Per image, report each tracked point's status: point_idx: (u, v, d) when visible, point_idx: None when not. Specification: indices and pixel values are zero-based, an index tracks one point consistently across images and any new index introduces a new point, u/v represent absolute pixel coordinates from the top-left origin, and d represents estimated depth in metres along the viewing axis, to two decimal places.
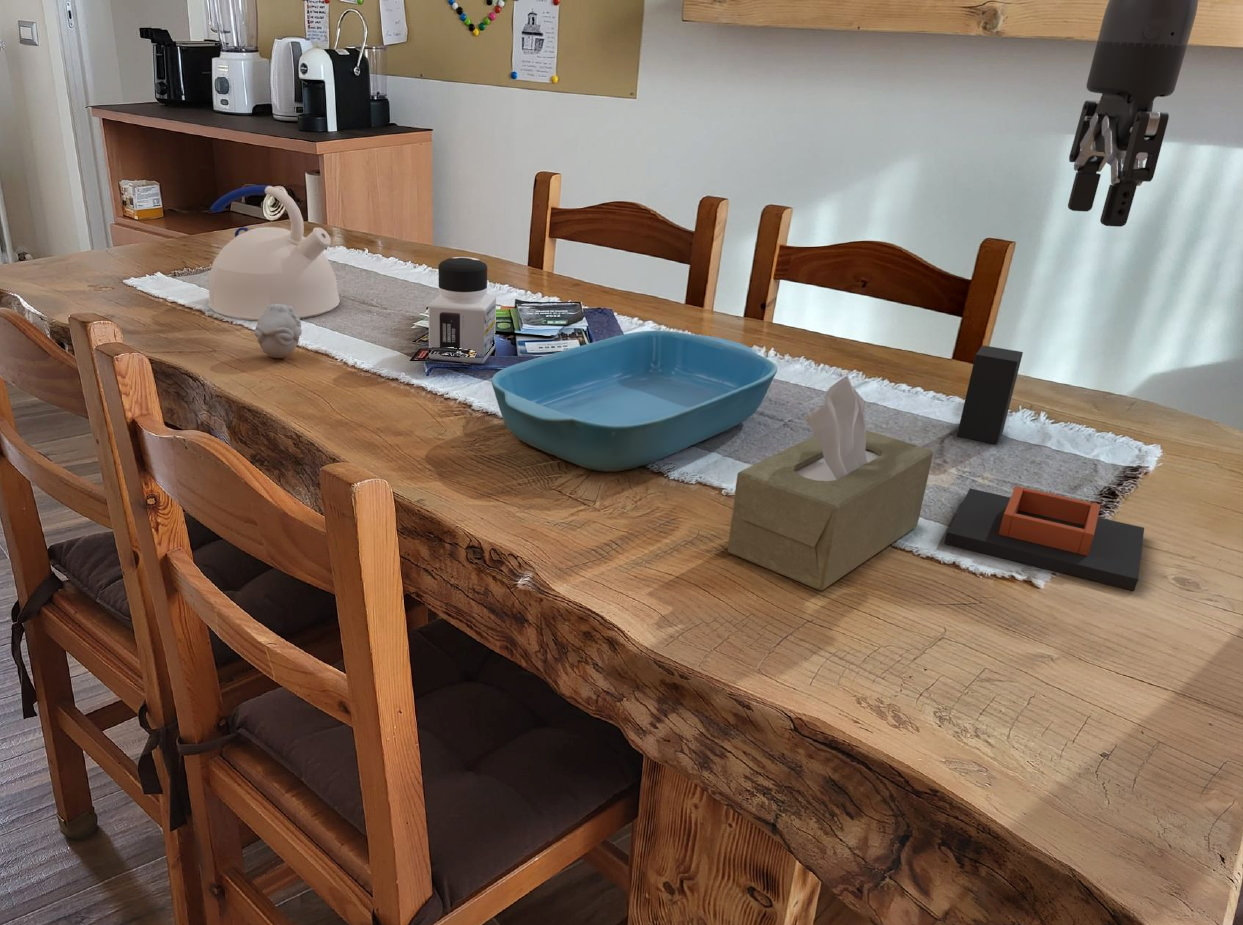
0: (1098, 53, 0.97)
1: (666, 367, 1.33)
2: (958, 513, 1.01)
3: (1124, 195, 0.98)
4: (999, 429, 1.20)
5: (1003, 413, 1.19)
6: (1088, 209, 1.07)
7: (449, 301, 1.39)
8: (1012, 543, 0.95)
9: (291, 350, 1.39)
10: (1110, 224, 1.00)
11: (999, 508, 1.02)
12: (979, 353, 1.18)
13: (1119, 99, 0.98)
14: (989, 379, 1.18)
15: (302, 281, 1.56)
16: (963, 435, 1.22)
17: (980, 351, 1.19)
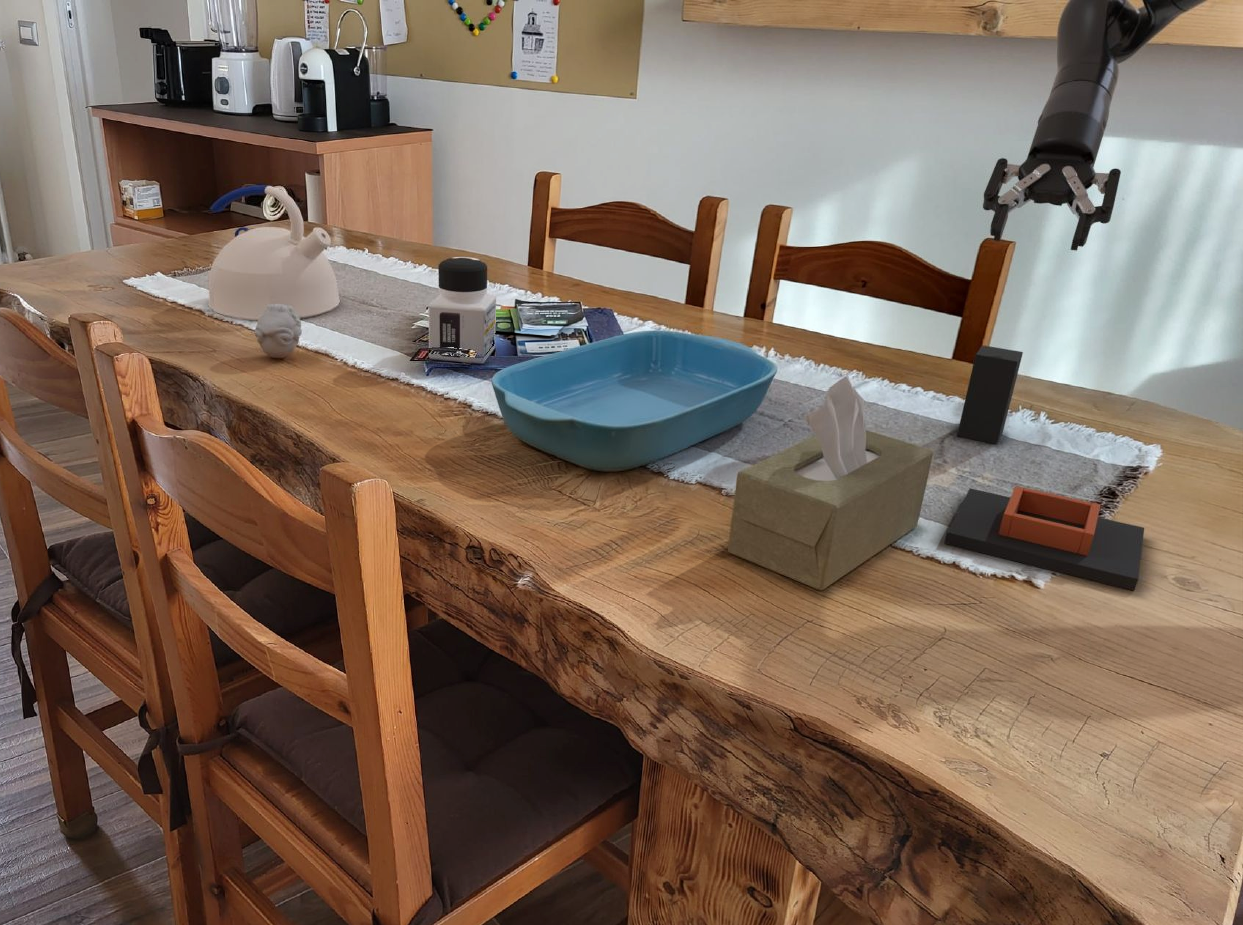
0: (1073, 118, 1.23)
1: (666, 367, 1.33)
2: (958, 513, 1.01)
3: None
4: (999, 429, 1.20)
5: (1003, 413, 1.19)
6: None
7: (449, 301, 1.39)
8: (1012, 543, 0.95)
9: (291, 350, 1.39)
10: (1078, 244, 1.21)
11: (999, 508, 1.02)
12: (979, 353, 1.18)
13: (1070, 160, 1.24)
14: (989, 379, 1.18)
15: (302, 281, 1.56)
16: (963, 435, 1.22)
17: (980, 351, 1.19)
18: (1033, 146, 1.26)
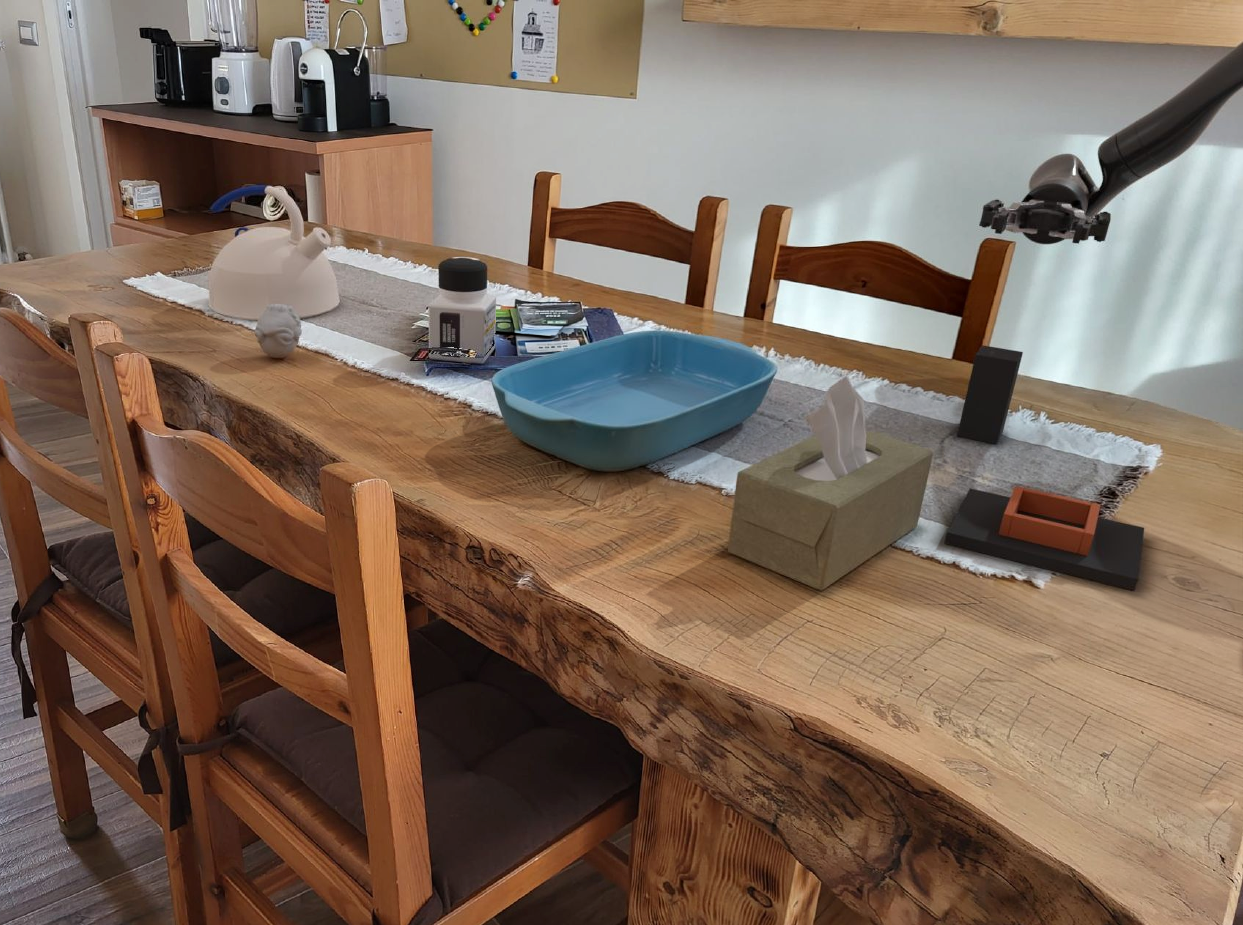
0: (1062, 181, 1.32)
1: (666, 367, 1.33)
2: (958, 513, 1.01)
3: None
4: (999, 429, 1.20)
5: (1003, 413, 1.19)
6: (1001, 231, 1.24)
7: (449, 301, 1.39)
8: (1012, 543, 0.95)
9: (291, 350, 1.39)
10: (1081, 231, 1.20)
11: (999, 508, 1.02)
12: (979, 353, 1.18)
13: None
14: (989, 379, 1.18)
15: (302, 281, 1.56)
16: (963, 435, 1.22)
17: (980, 351, 1.19)
18: (1025, 196, 1.32)
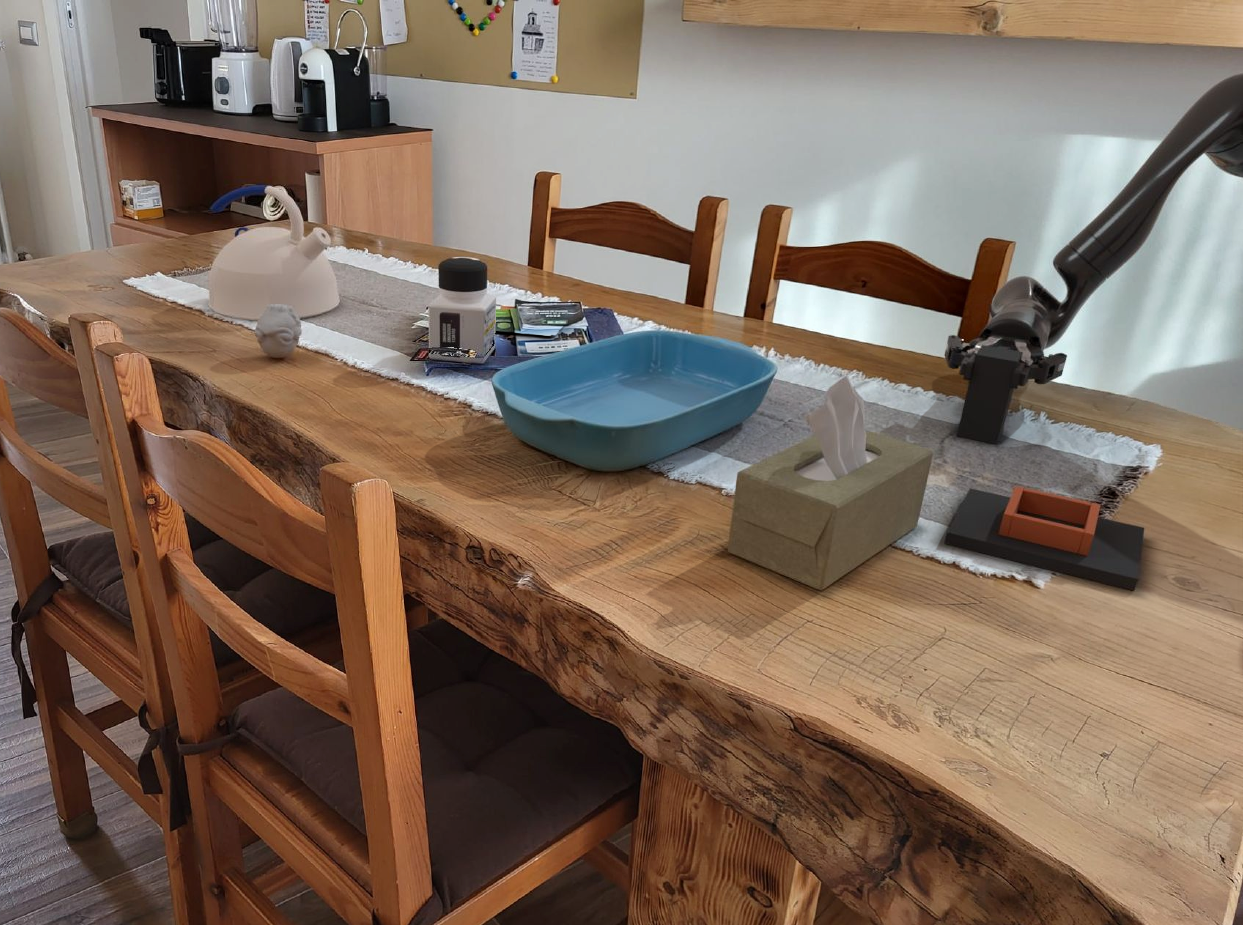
0: (1021, 314, 1.28)
1: (666, 367, 1.33)
2: (958, 513, 1.01)
3: None
4: (999, 429, 1.20)
5: (1003, 413, 1.19)
6: (969, 378, 1.19)
7: (449, 301, 1.39)
8: (1012, 543, 0.95)
9: (291, 350, 1.39)
10: (1019, 377, 1.16)
11: (999, 508, 1.02)
12: (979, 353, 1.18)
13: None
14: (989, 379, 1.18)
15: (302, 281, 1.56)
16: (962, 435, 1.22)
17: (980, 351, 1.19)
18: (983, 330, 1.28)
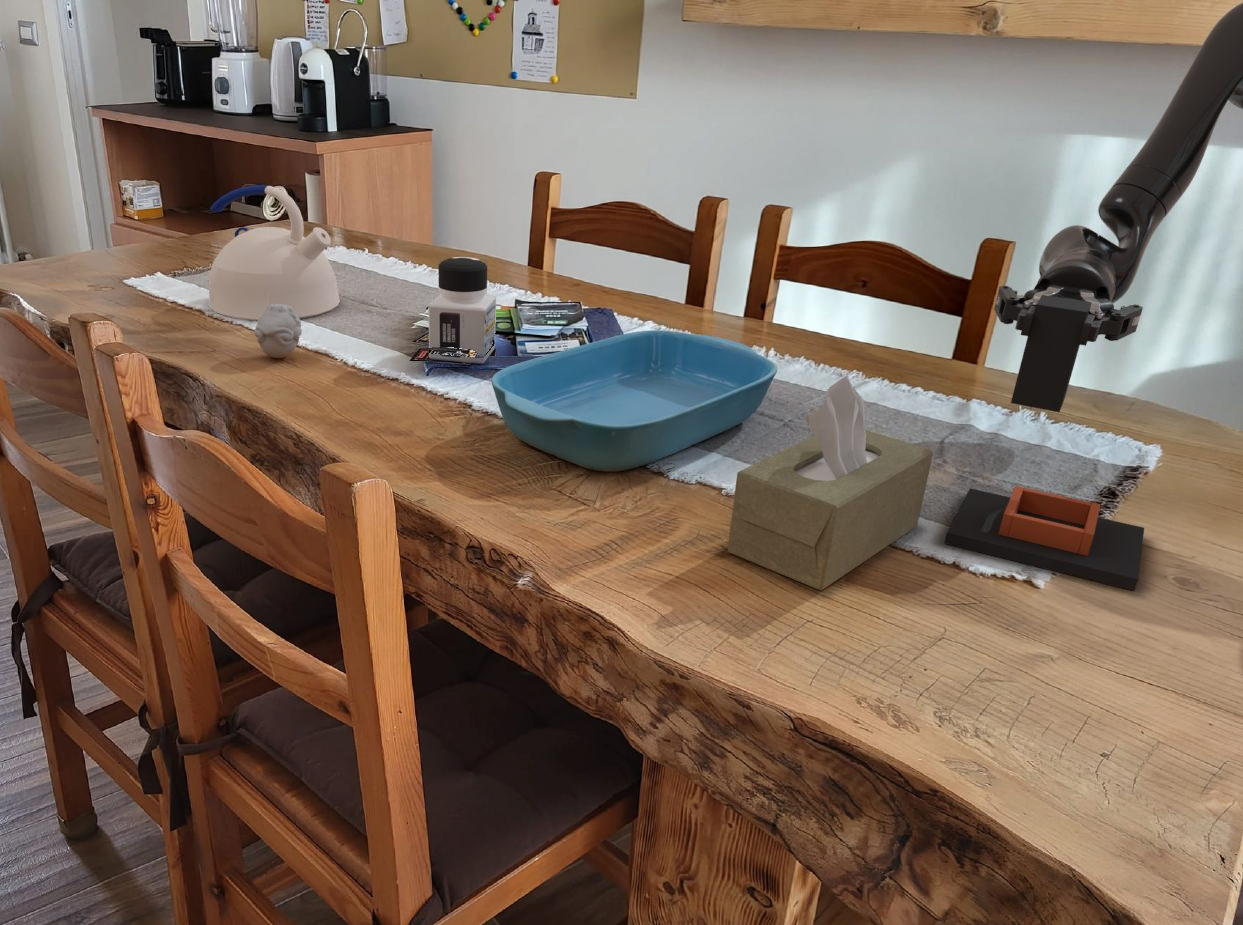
0: (1085, 261, 1.09)
1: (666, 367, 1.33)
2: (958, 513, 1.01)
3: None
4: (1063, 394, 1.01)
5: (1068, 375, 1.00)
6: (1028, 333, 1.00)
7: (449, 301, 1.39)
8: (1012, 543, 0.95)
9: (291, 350, 1.39)
10: (1089, 331, 0.97)
11: (999, 508, 1.02)
12: (1040, 303, 0.99)
13: None
14: (1052, 334, 0.99)
15: (302, 281, 1.56)
16: (1018, 402, 1.03)
17: (1041, 301, 1.00)
18: (1040, 280, 1.09)
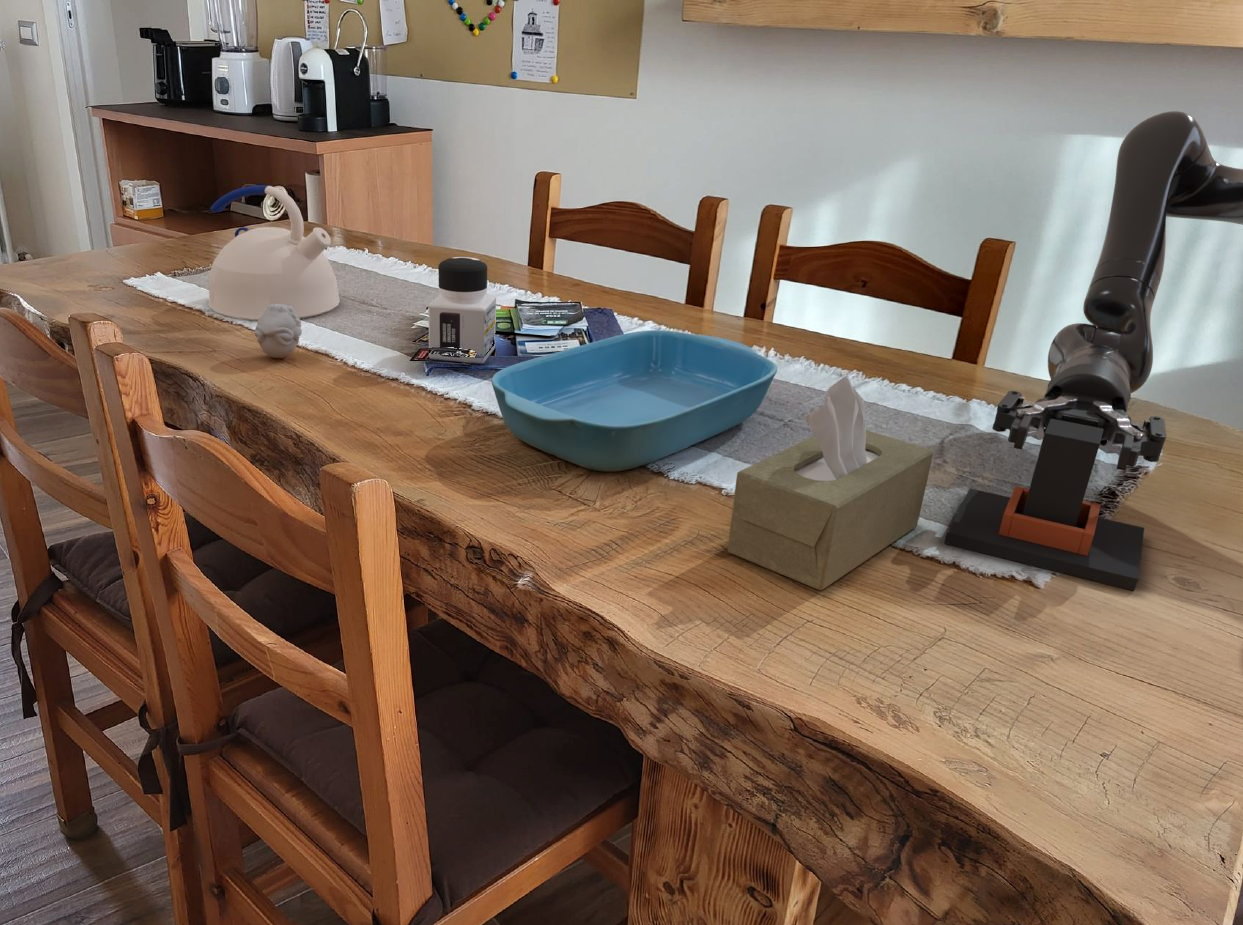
0: (1099, 367, 1.02)
1: (666, 367, 1.33)
2: (958, 513, 1.01)
3: None
4: (1073, 526, 0.95)
5: (1079, 507, 0.94)
6: (1022, 447, 0.95)
7: (449, 301, 1.39)
8: (1012, 543, 0.95)
9: (291, 350, 1.39)
10: (1129, 456, 0.90)
11: (999, 508, 1.02)
12: (1049, 431, 0.93)
13: None
14: (1062, 464, 0.93)
15: (302, 281, 1.56)
16: None
17: (1050, 428, 0.94)
18: (1051, 386, 1.03)
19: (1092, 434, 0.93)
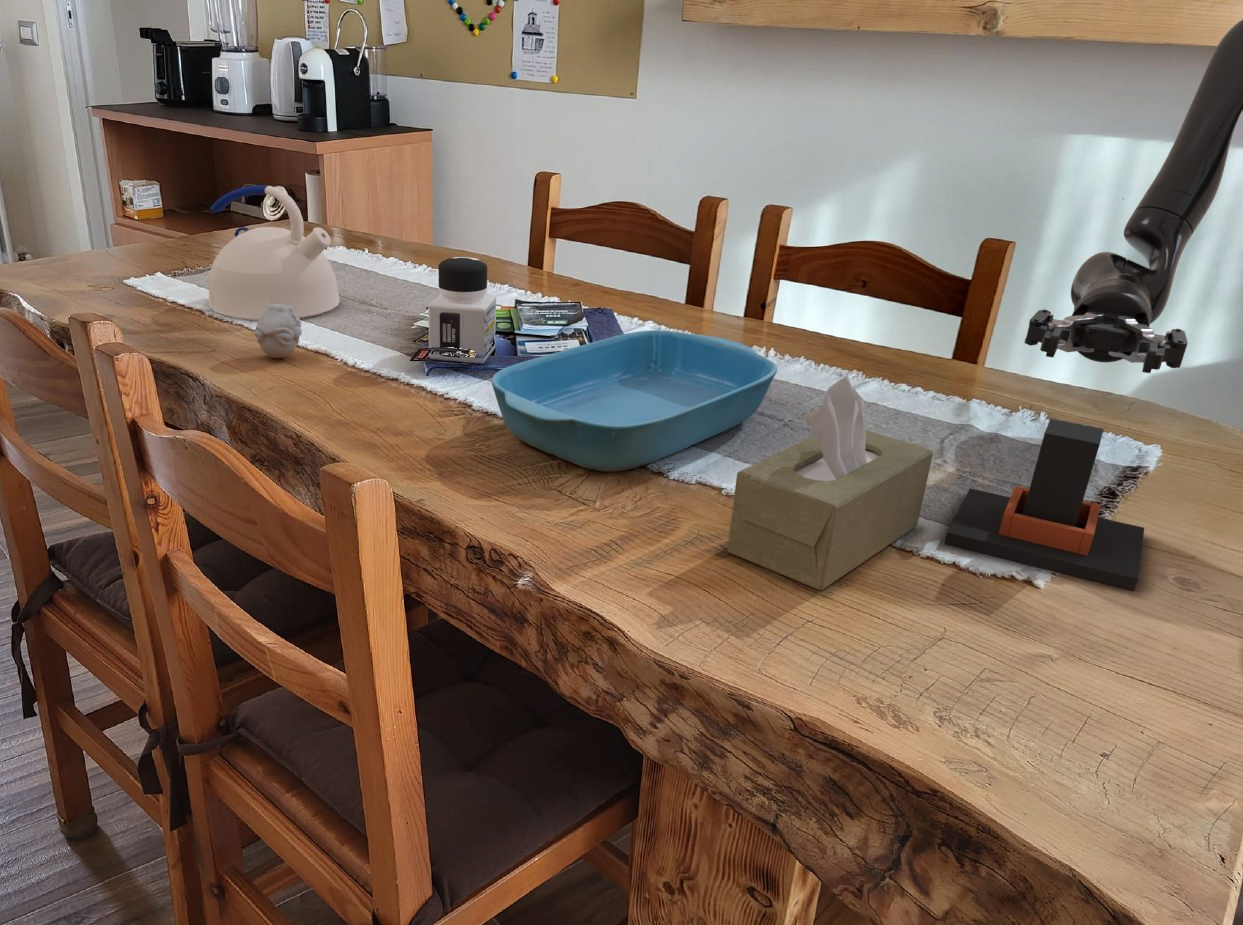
0: (1122, 287, 1.10)
1: (666, 367, 1.33)
2: (958, 513, 1.01)
3: None
4: (1073, 526, 0.95)
5: (1079, 507, 0.94)
6: (1053, 355, 1.02)
7: (449, 301, 1.39)
8: (1012, 543, 0.95)
9: (291, 350, 1.39)
10: (1154, 359, 0.98)
11: (999, 508, 1.02)
12: (1049, 431, 0.93)
13: None
14: (1062, 464, 0.93)
15: (302, 281, 1.56)
16: None
17: (1050, 428, 0.94)
18: (1078, 306, 1.10)
19: (1092, 434, 0.93)
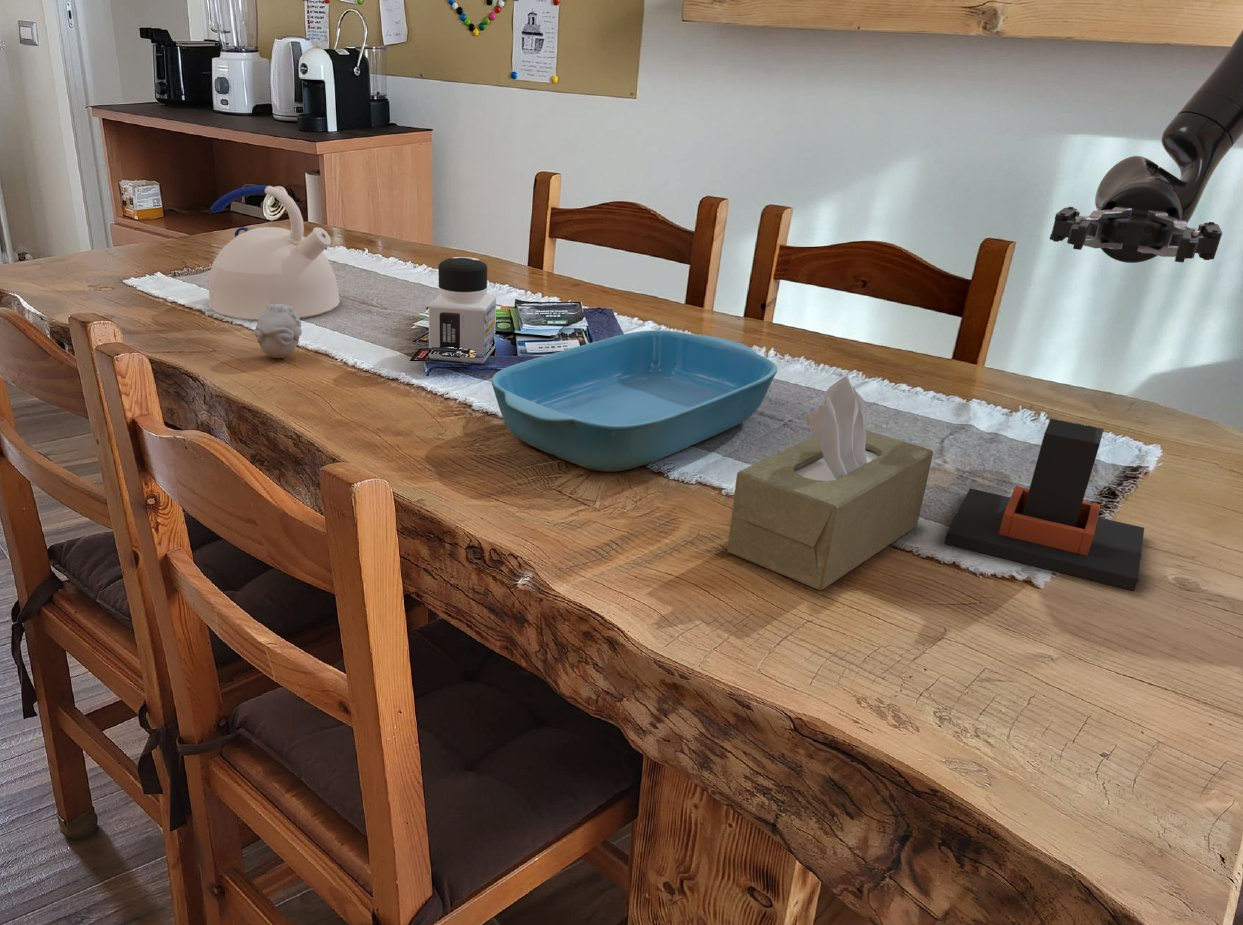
0: (1152, 183, 1.05)
1: (666, 367, 1.33)
2: (958, 513, 1.01)
3: None
4: (1073, 526, 0.95)
5: (1079, 507, 0.94)
6: (1081, 247, 0.98)
7: (449, 301, 1.39)
8: (1012, 543, 0.95)
9: (291, 350, 1.39)
10: (1188, 247, 0.93)
11: (999, 508, 1.02)
12: (1049, 431, 0.93)
13: None
14: (1062, 464, 0.93)
15: (302, 281, 1.56)
16: None
17: (1050, 428, 0.94)
18: (1105, 203, 1.05)
19: (1092, 434, 0.93)
